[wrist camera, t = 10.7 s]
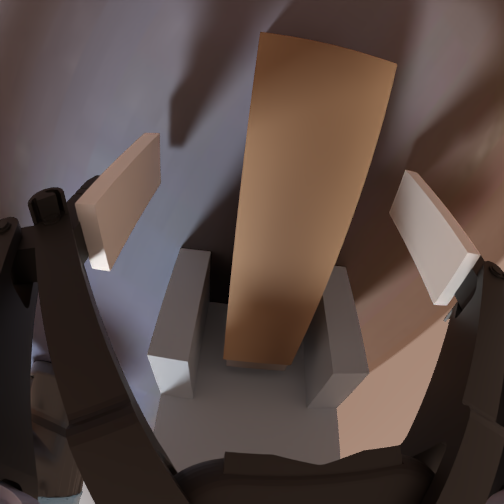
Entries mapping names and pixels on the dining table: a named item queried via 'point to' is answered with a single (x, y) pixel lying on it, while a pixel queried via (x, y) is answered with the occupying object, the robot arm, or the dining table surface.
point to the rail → (298, 188)
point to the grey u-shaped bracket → (250, 376)
